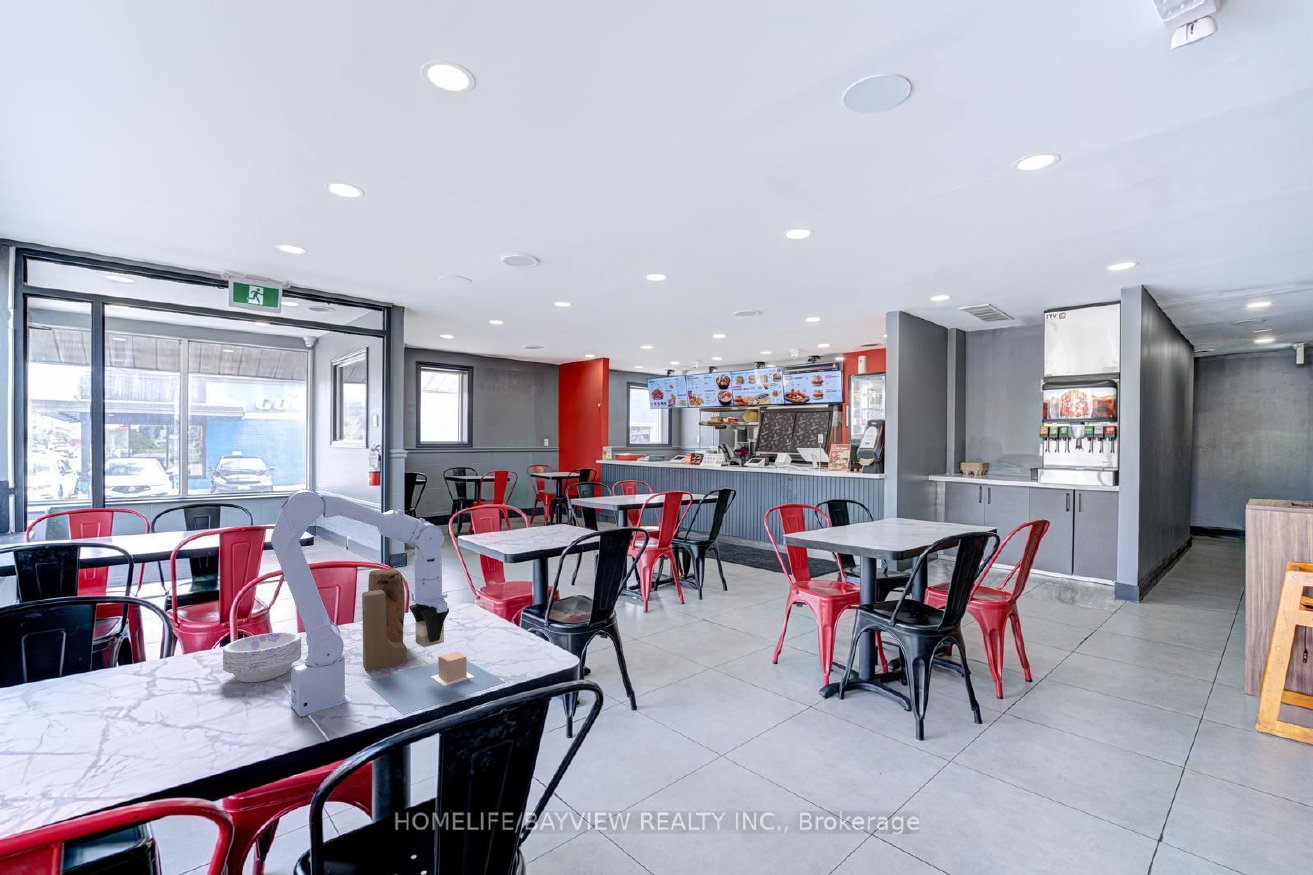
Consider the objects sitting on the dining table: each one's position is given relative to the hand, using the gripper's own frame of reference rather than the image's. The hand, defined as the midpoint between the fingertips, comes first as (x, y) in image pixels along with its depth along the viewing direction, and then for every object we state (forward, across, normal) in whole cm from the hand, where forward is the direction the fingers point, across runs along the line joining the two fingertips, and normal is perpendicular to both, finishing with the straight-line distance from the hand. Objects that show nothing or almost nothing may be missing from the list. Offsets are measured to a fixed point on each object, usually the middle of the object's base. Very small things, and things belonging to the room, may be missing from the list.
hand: (429, 638), depth 135 cm
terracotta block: (+9, -3, -4) cm, 10 cm away
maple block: (+1, 0, 0) cm, 1 cm away
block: (+10, +29, -1) cm, 31 cm away
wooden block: (+10, +16, +4) cm, 19 cm away
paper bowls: (+10, +31, +26) cm, 42 cm away
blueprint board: (+10, -3, 0) cm, 10 cm away
